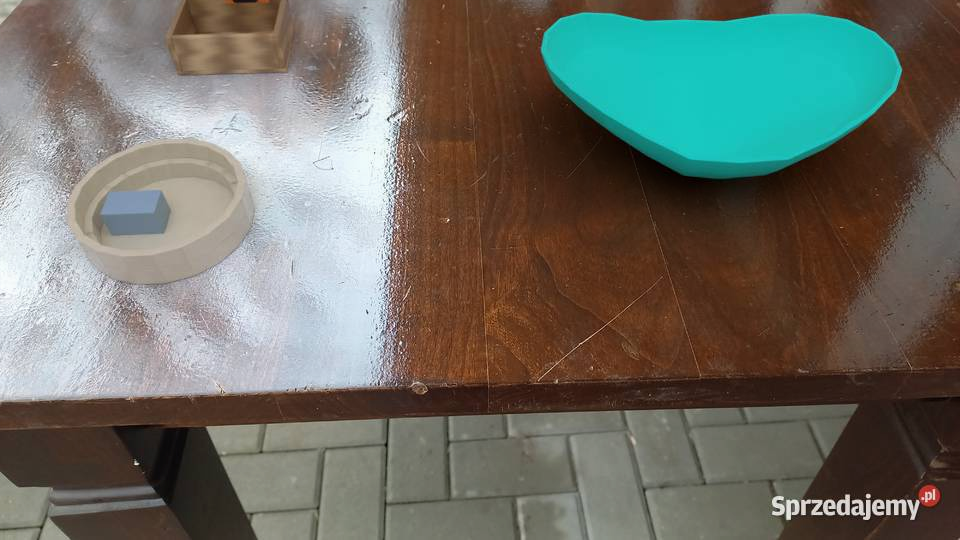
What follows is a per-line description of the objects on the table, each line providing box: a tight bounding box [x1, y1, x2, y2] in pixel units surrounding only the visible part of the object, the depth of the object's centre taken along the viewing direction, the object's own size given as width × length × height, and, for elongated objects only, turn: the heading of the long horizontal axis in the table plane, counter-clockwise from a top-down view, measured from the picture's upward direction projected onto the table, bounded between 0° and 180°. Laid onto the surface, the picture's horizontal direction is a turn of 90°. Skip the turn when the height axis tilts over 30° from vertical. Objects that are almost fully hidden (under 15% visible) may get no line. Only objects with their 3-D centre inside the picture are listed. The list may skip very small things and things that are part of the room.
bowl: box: [66, 138, 256, 286], centre depth 74 cm, size 18×18×5 cm
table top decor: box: [540, 12, 903, 180], centre depth 82 cm, size 40×28×13 cm
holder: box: [164, 0, 296, 76], centre depth 96 cm, size 15×11×6 cm
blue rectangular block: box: [100, 190, 171, 235], centre depth 74 cm, size 6×4×3 cm, turn 94°
